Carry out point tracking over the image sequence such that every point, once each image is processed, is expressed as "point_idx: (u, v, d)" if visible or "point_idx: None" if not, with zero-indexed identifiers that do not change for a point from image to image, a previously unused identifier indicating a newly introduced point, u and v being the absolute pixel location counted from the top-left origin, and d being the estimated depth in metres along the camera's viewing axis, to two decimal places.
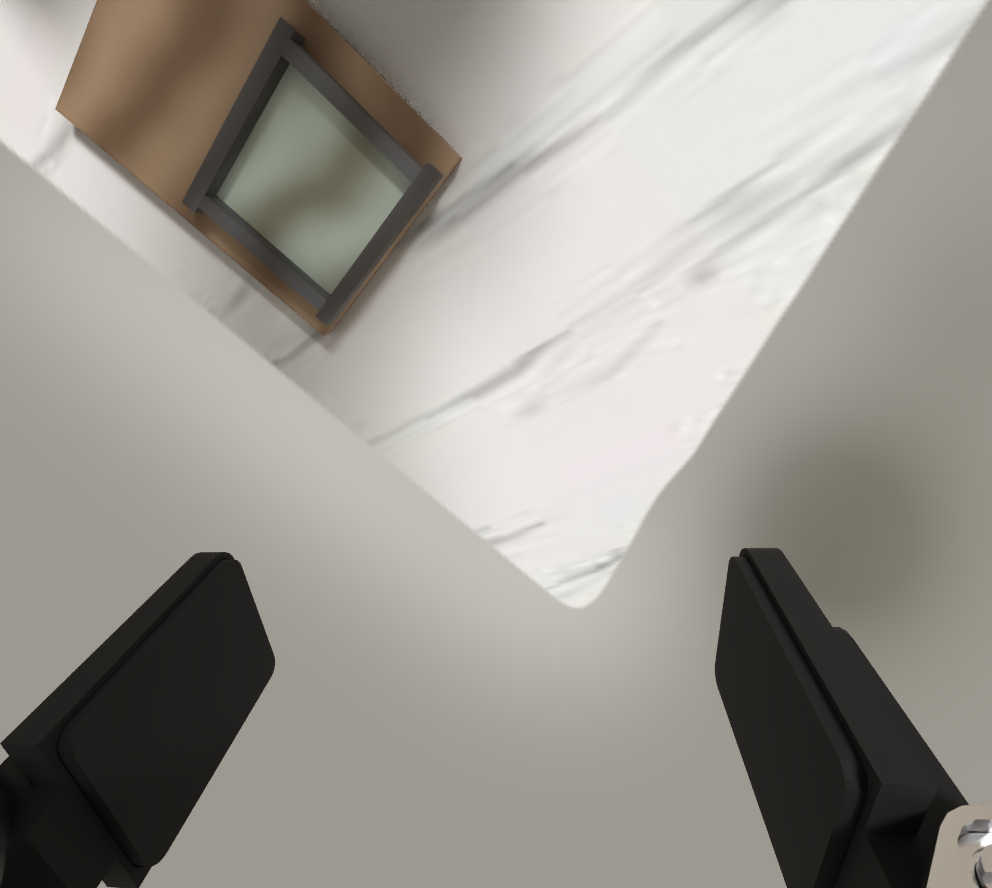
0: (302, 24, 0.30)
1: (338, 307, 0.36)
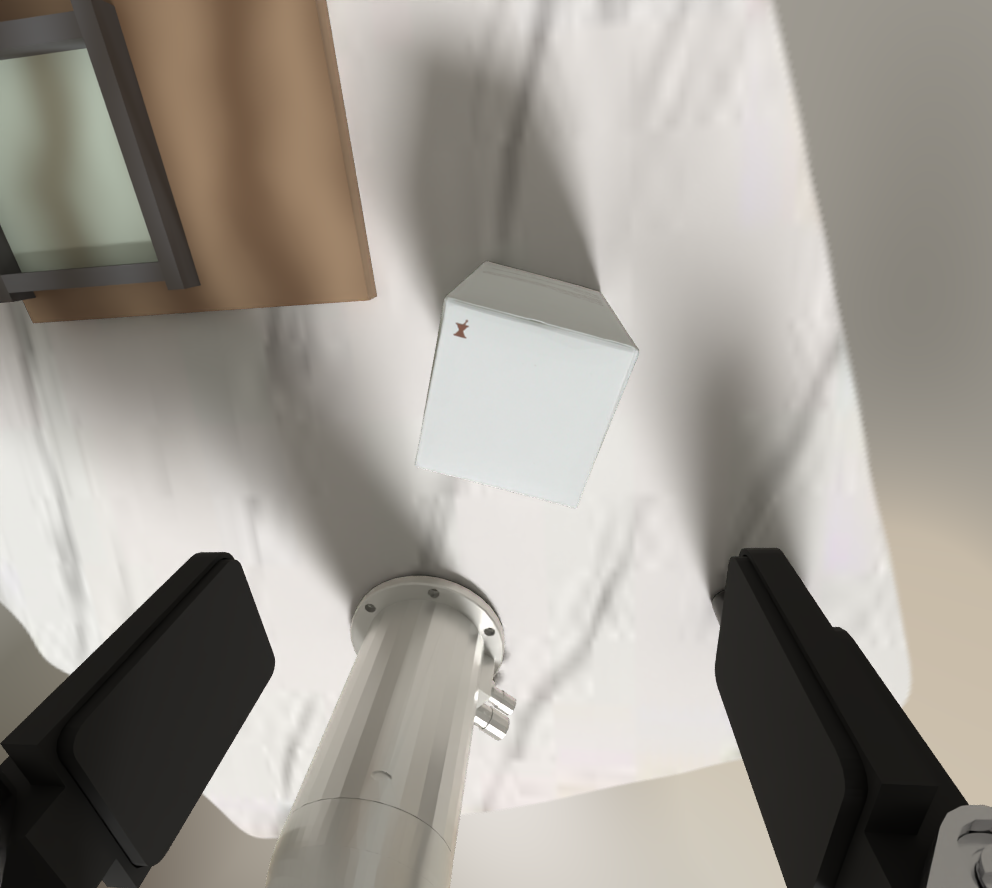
0: (195, 294, 0.30)
1: None
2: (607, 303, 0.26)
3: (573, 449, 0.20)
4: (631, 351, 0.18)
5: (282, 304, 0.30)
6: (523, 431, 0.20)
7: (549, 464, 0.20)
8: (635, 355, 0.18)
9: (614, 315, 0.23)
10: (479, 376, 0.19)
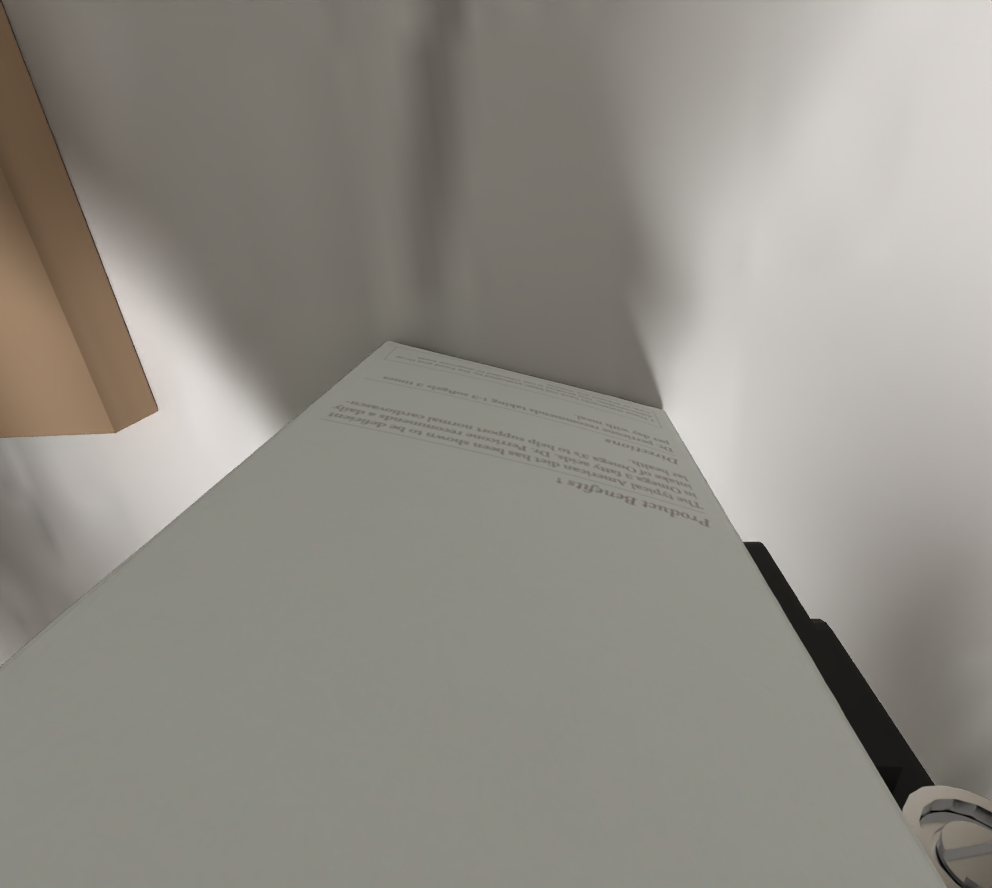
0: None
1: None
2: (706, 485, 0.09)
3: None
4: None
5: None
6: None
7: None
8: None
9: (783, 624, 0.06)
10: None
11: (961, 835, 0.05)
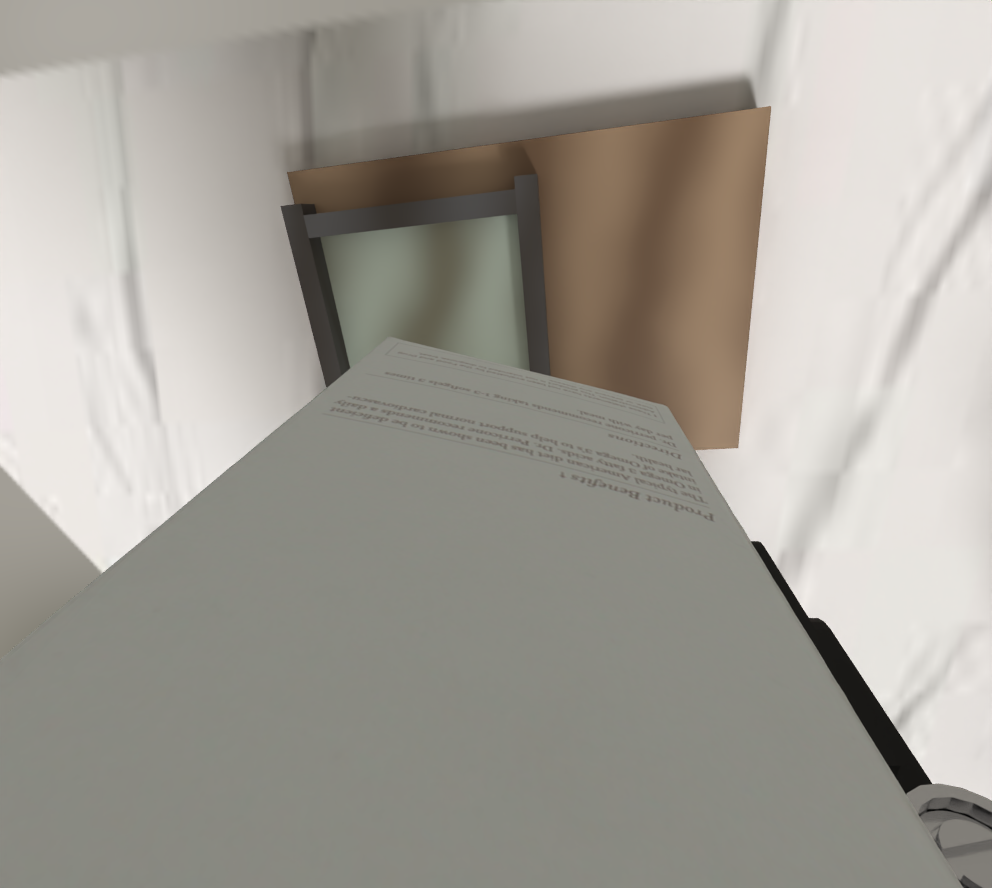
0: None
1: (292, 244, 0.24)
2: (710, 480, 0.09)
3: None
4: None
5: None
6: None
7: None
8: None
9: (790, 617, 0.06)
10: None
11: (958, 834, 0.05)
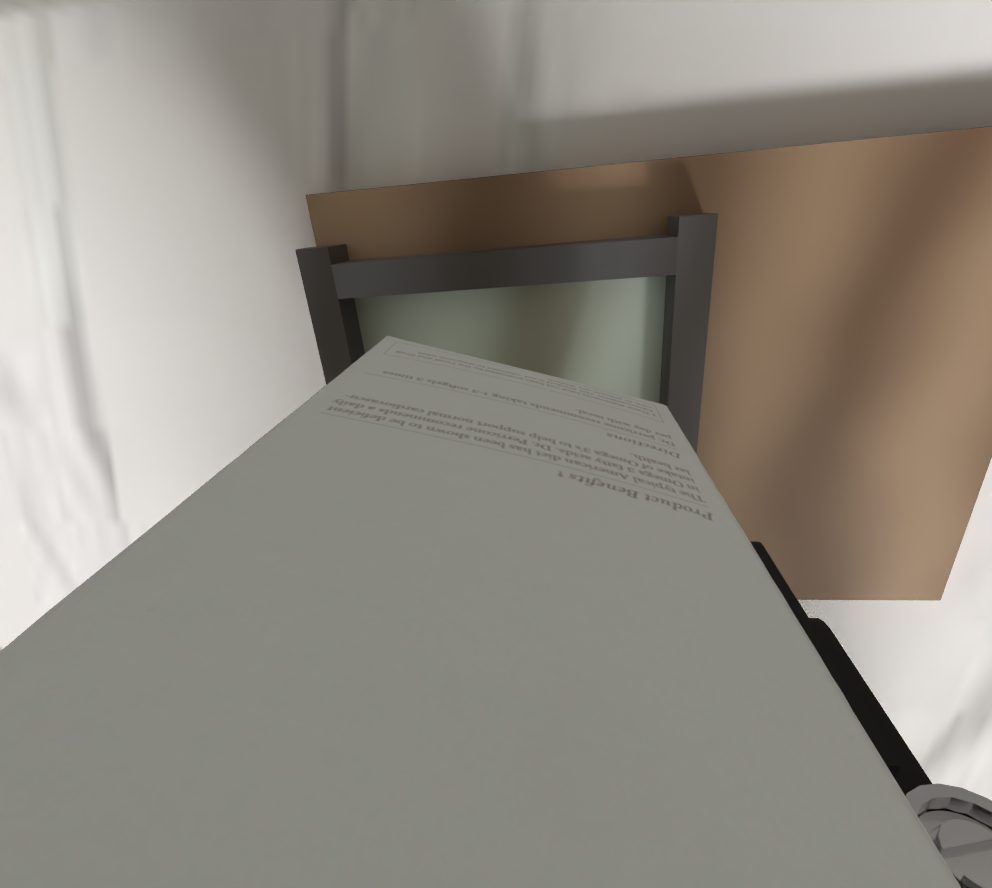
0: None
1: (311, 307, 0.16)
2: (709, 479, 0.09)
3: None
4: None
5: None
6: None
7: None
8: None
9: (788, 617, 0.06)
10: None
11: (958, 834, 0.05)
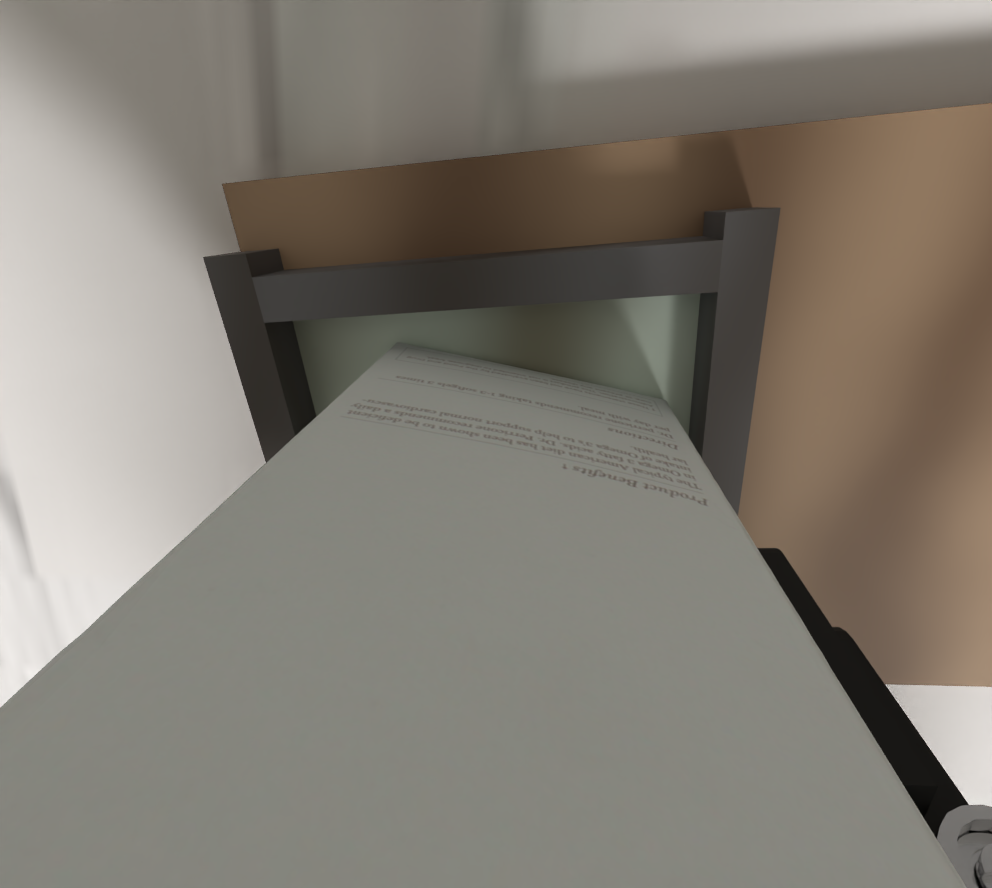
0: None
1: (230, 333, 0.12)
2: (705, 468, 0.09)
3: None
4: None
5: None
6: None
7: None
8: None
9: (775, 590, 0.06)
10: None
11: None
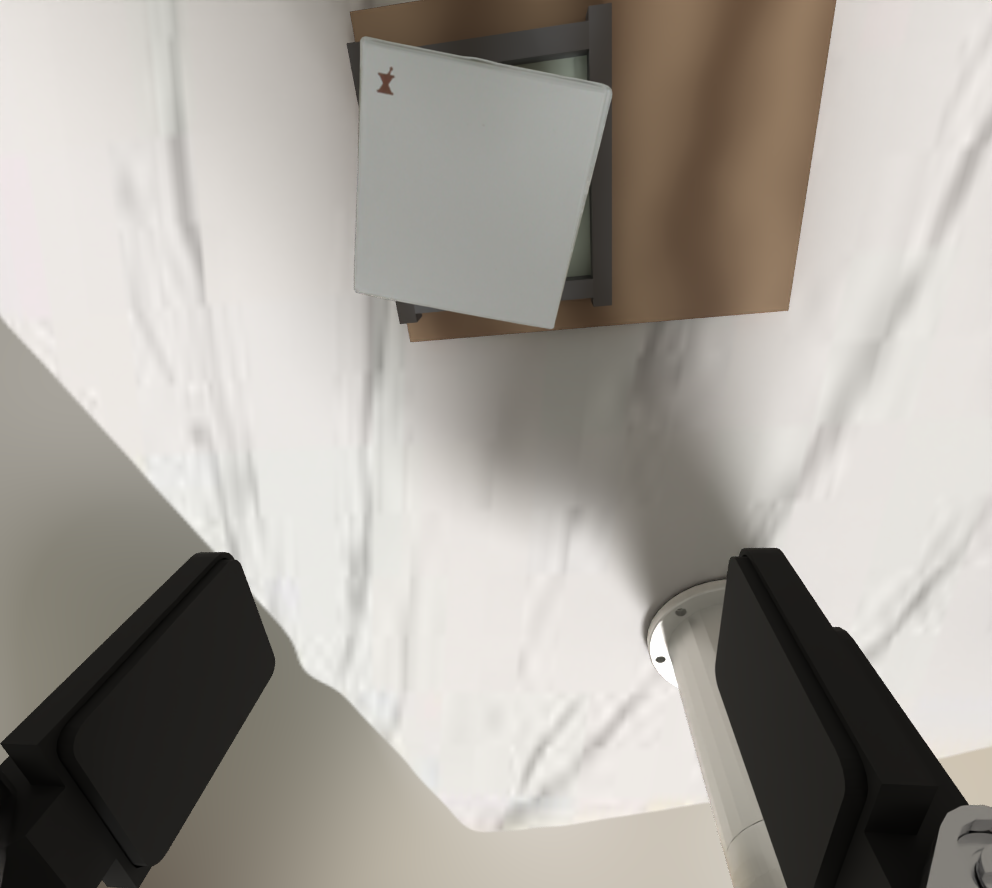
0: (600, 308, 0.29)
1: (356, 87, 0.24)
2: None
3: (541, 244, 0.16)
4: (602, 90, 0.14)
5: (691, 316, 0.29)
6: (478, 224, 0.16)
7: (515, 269, 0.17)
8: (607, 98, 0.14)
9: None
10: (415, 150, 0.15)
11: None
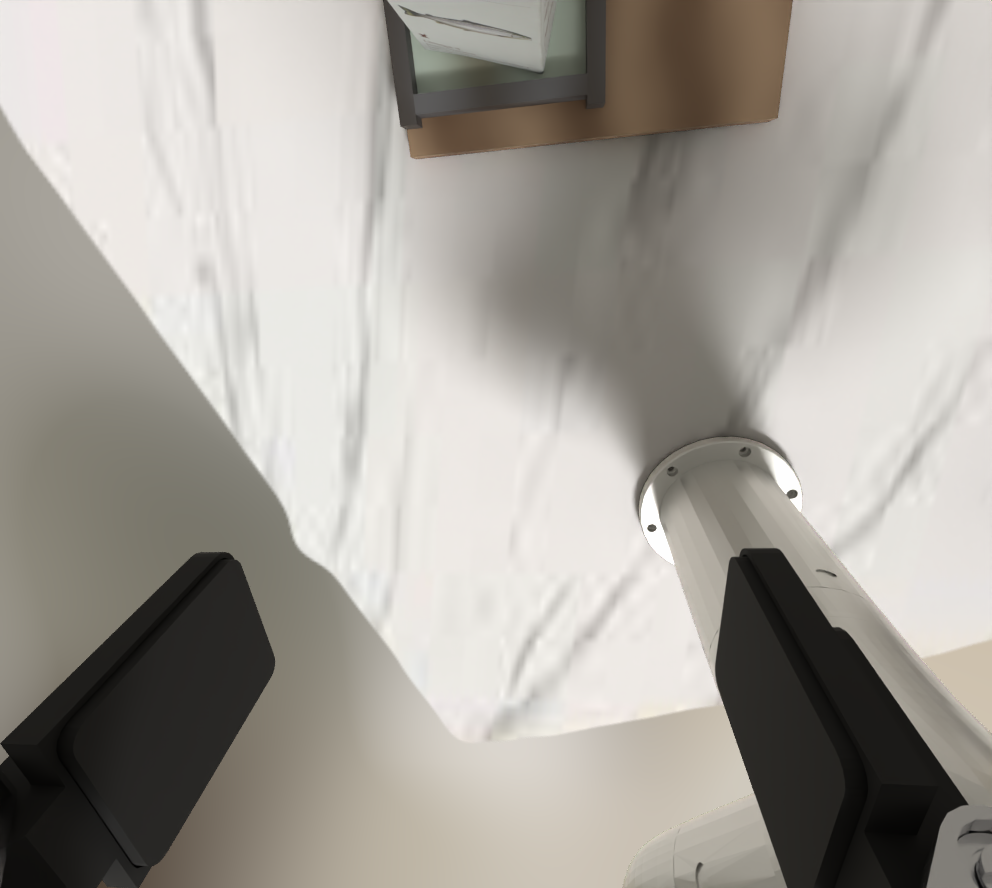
0: (594, 117, 0.30)
1: None
2: None
3: None
4: None
5: (683, 126, 0.30)
6: None
7: None
8: None
9: None
10: None
11: None
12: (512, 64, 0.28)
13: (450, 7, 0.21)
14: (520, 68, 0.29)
